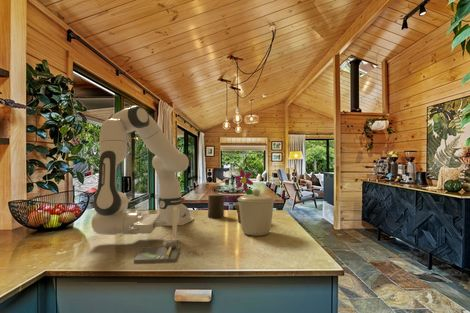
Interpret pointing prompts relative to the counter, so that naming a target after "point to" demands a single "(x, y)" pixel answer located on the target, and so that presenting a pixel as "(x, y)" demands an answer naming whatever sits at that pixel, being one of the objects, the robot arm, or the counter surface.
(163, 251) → the dial board
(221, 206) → the pillar candle
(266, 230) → the canister
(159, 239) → the counter surface
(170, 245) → the upright cream panel
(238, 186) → the flowerpot
